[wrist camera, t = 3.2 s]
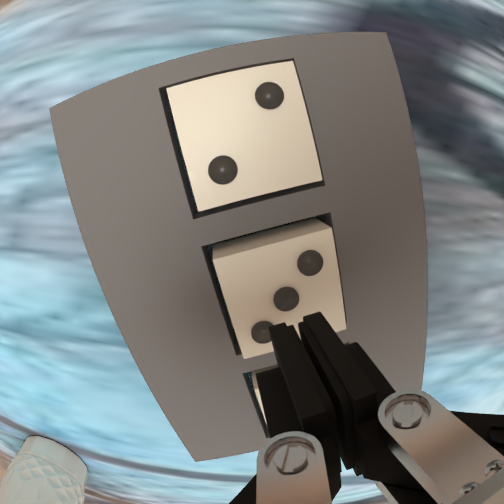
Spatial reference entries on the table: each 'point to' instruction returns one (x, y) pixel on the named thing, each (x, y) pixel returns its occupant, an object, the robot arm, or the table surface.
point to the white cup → (44, 475)
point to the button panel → (248, 225)
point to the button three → (279, 281)
